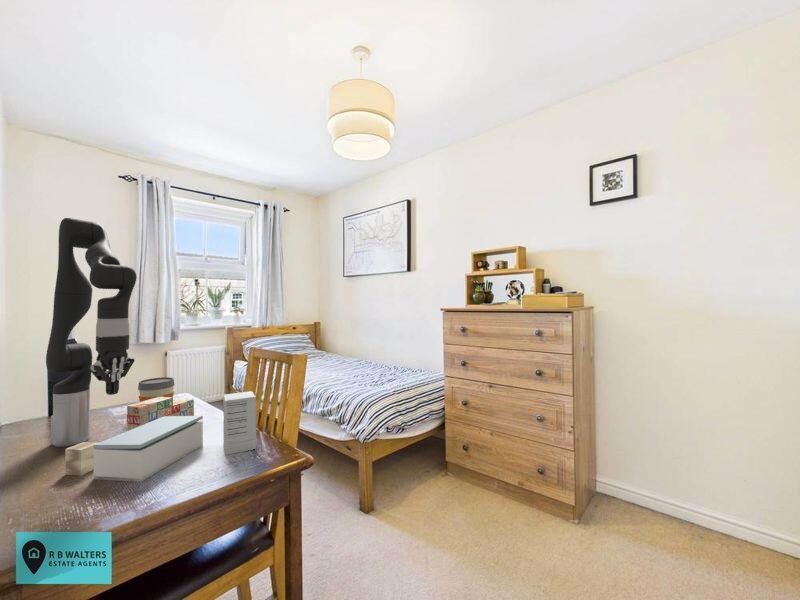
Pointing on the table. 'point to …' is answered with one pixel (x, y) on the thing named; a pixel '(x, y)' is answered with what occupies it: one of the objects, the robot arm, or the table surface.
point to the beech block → (79, 458)
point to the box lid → (148, 433)
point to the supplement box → (239, 422)
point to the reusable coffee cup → (156, 388)
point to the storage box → (147, 456)
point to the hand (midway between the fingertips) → (112, 394)
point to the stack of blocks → (157, 410)
